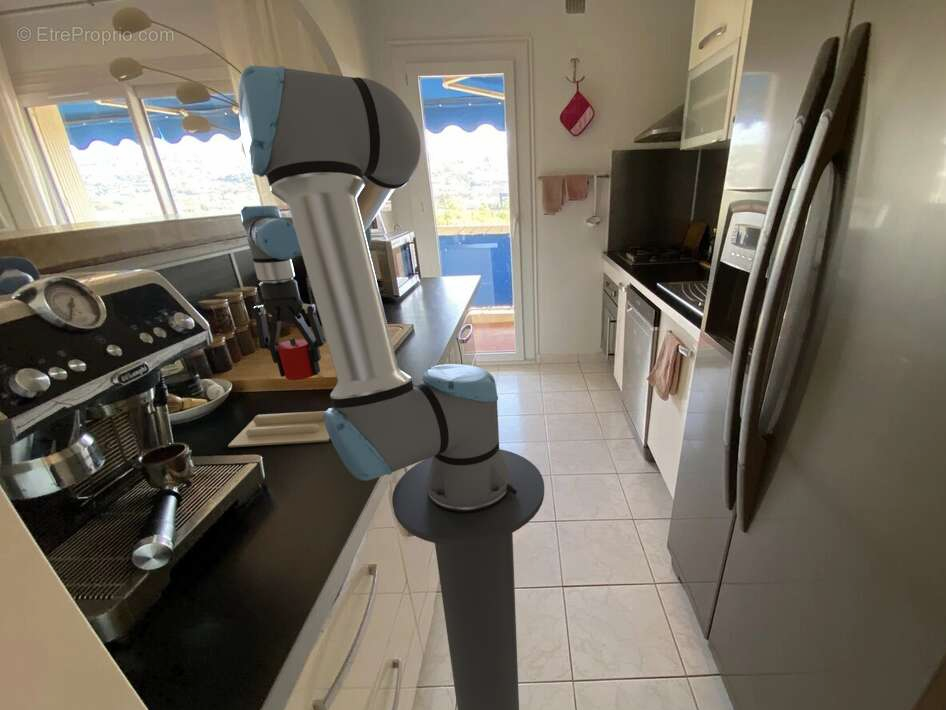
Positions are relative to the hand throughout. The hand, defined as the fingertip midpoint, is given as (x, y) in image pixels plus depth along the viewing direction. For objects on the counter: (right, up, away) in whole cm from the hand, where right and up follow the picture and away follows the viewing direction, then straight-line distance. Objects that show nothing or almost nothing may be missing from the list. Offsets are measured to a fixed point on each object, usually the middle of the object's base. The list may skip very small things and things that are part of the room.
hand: (300, 373), depth 111 cm
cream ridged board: (+4, -13, -11) cm, 18 cm away
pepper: (0, 0, 0) cm, 0 cm away
